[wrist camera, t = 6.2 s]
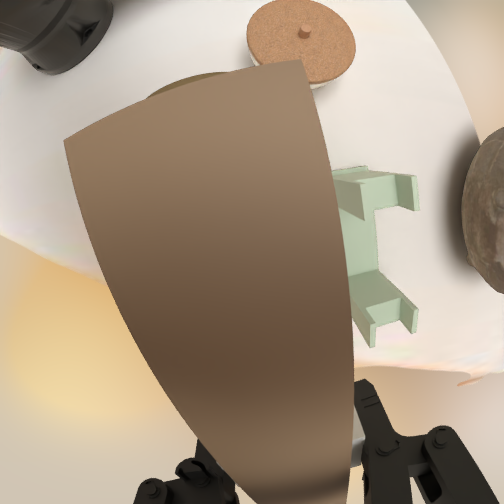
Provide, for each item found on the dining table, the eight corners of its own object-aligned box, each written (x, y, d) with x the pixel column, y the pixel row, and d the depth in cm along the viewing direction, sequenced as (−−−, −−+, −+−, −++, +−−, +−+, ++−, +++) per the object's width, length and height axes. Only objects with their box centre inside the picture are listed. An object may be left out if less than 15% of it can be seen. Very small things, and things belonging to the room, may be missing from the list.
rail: (157, 130, 8) (58, 106, 3) (266, 99, 7) (288, 23, 3) (286, 481, 15) (291, 533, 10) (332, 472, 15) (342, 524, 10)
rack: (319, 172, 31) (356, 178, 19) (364, 165, 30) (417, 169, 19) (337, 298, 36) (367, 352, 24) (376, 288, 35) (416, 335, 24)
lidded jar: (234, 83, 27) (228, 53, 18) (264, 18, 24) (268, -22, 15) (320, 114, 28) (345, 96, 20) (344, 47, 25) (371, 16, 16)
